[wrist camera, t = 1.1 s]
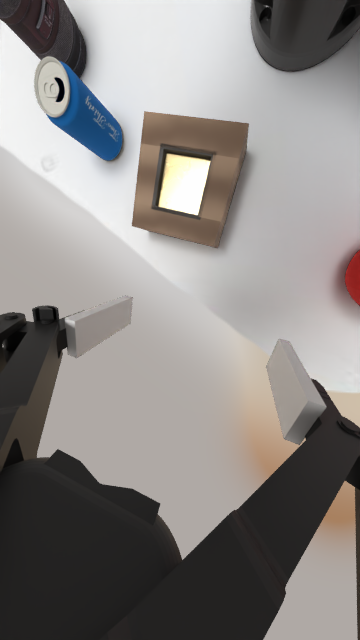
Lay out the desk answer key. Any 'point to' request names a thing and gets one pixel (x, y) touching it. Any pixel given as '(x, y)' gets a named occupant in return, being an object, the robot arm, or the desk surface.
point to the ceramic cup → (354, 278)
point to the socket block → (199, 142)
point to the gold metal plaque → (183, 183)
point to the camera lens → (46, 30)
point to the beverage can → (76, 108)
